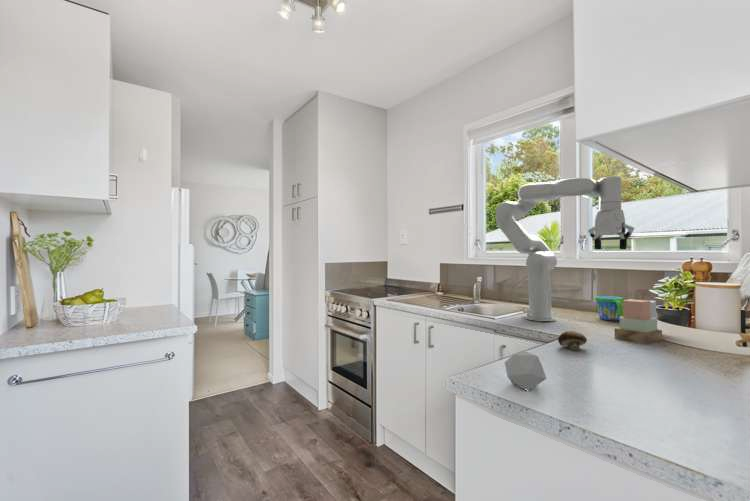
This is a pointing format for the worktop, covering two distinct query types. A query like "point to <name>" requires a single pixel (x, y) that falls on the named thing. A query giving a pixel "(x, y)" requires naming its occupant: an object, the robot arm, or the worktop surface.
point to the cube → (636, 309)
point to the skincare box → (653, 309)
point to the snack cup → (609, 307)
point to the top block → (638, 324)
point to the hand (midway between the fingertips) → (610, 249)
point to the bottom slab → (638, 336)
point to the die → (525, 370)
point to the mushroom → (572, 340)
